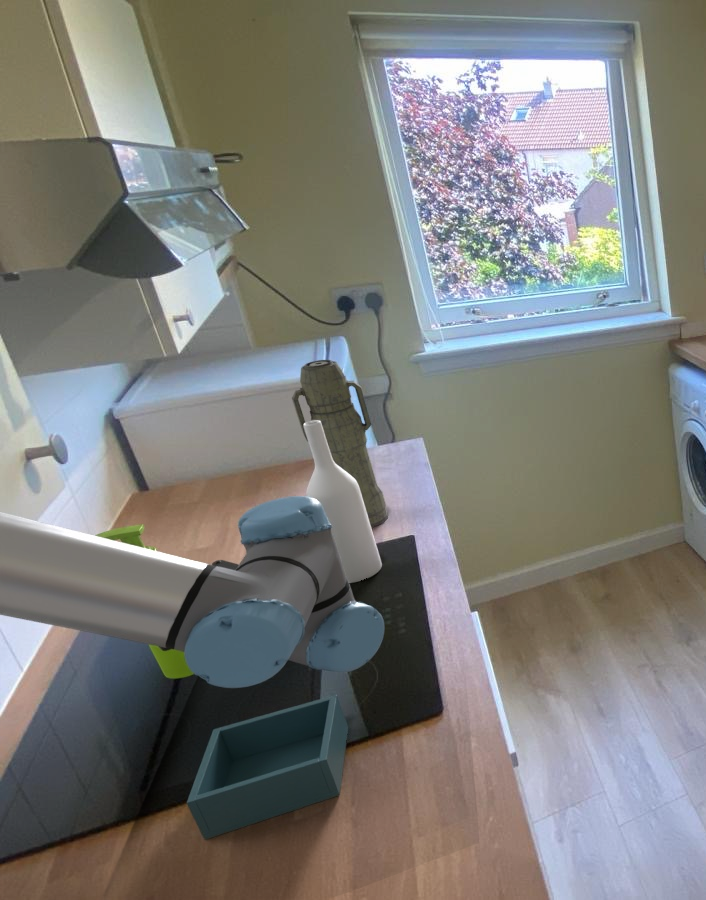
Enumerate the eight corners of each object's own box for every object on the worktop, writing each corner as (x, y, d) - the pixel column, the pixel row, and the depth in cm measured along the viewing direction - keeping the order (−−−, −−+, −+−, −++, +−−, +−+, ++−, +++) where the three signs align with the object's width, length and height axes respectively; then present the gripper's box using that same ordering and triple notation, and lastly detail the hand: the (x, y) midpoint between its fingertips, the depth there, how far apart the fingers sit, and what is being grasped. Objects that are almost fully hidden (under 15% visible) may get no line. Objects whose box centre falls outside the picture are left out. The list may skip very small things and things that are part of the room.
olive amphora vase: (402, 517, 157) (358, 360, 144) (341, 538, 150) (289, 373, 136) (389, 505, 163) (345, 352, 150) (329, 524, 156) (278, 365, 142)
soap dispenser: (160, 660, 95) (90, 527, 87) (223, 642, 98) (162, 512, 90) (148, 688, 90) (74, 550, 82) (215, 668, 93) (150, 533, 85)
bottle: (383, 575, 136) (339, 424, 124) (333, 588, 132) (283, 434, 121) (380, 556, 142) (338, 411, 131) (333, 569, 139) (284, 420, 127)
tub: (204, 840, 84) (186, 803, 82) (228, 763, 94) (213, 729, 92) (339, 795, 89) (326, 759, 87) (348, 727, 100) (336, 694, 97)
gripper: (185, 697, 78) (50, 657, 85) (340, 599, 94) (215, 572, 101) (159, 639, 75) (21, 603, 82) (323, 548, 91) (196, 524, 98)
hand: (129, 586), depth 92 cm, fingers closed on soap dispenser, 6 cm apart
